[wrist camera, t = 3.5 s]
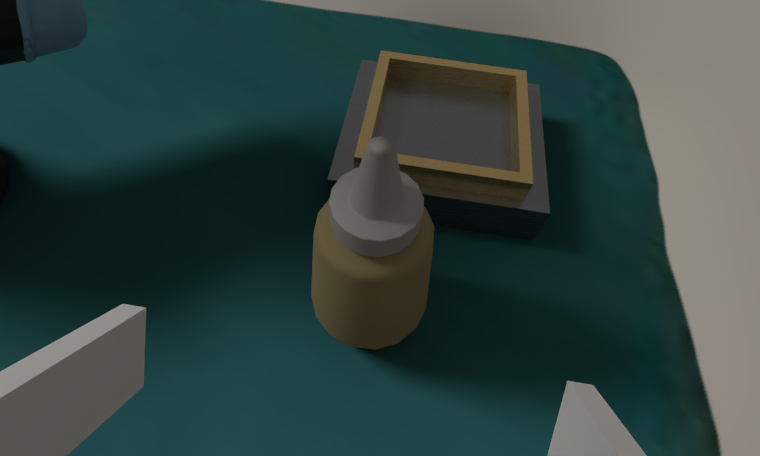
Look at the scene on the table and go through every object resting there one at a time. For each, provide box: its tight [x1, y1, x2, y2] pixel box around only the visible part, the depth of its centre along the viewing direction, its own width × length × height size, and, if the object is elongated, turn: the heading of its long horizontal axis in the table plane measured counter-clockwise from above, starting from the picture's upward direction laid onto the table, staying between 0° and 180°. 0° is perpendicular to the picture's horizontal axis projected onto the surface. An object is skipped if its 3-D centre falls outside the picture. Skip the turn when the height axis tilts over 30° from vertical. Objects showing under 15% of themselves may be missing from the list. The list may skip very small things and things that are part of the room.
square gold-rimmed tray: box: [327, 51, 550, 240], centre depth 39 cm, size 18×16×6 cm
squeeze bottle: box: [311, 136, 434, 350], centre depth 25 cm, size 8×8×18 cm
